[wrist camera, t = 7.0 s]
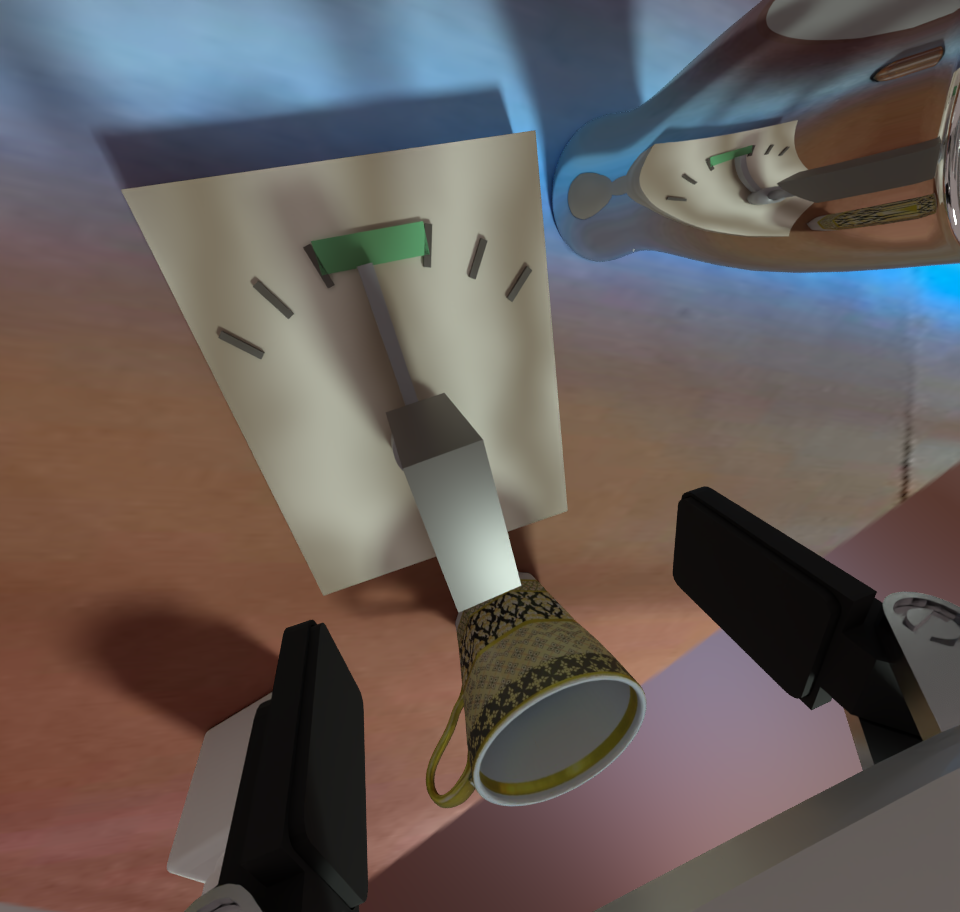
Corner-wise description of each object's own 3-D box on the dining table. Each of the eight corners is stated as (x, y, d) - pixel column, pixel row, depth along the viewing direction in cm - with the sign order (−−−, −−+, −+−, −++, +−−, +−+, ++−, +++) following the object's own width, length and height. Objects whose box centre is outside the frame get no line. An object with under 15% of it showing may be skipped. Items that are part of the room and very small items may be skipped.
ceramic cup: (530, 524, 27) (618, 644, 18) (578, 605, 32) (665, 729, 23) (367, 630, 27) (379, 804, 18) (441, 696, 32) (479, 857, 23)
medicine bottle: (276, 771, 29) (240, 1043, 19) (203, 730, 26) (111, 1038, 16) (361, 718, 30) (372, 956, 20) (301, 671, 26) (275, 932, 16)
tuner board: (516, 144, 18) (537, 128, 16) (552, 495, 27) (568, 512, 25) (146, 198, 15) (118, 188, 13) (324, 571, 24) (323, 598, 22)
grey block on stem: (402, 254, 16) (449, 242, 9) (468, 477, 21) (531, 581, 14) (324, 275, 16) (309, 281, 9) (411, 499, 21) (447, 617, 14)
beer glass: (514, 174, 18) (937, -58, 5) (631, 65, 18) (1394, -474, 5) (585, 299, 22) (944, 345, 9) (684, 210, 21) (1212, 120, 8)
